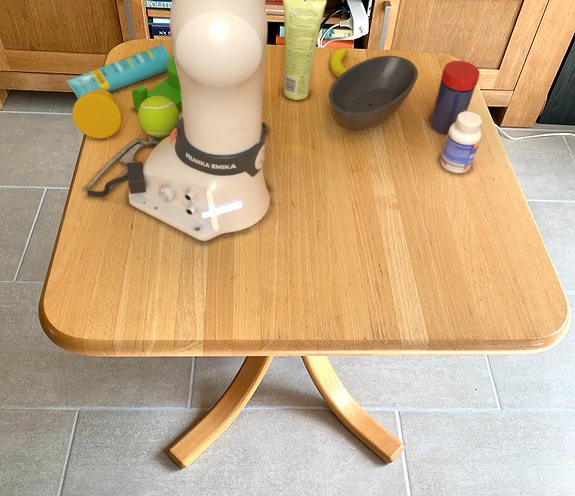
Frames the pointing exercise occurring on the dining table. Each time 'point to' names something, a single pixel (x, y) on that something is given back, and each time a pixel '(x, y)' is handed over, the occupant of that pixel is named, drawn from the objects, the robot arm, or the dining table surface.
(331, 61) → the fruit
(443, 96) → the jar
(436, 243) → the dining table surface
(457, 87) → the lid
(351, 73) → the bowl
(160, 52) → the tube
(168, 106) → the tennis ball
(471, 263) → the dining table surface
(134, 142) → the nutcracker
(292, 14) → the tube
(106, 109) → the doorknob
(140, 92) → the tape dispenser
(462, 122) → the pill bottle
